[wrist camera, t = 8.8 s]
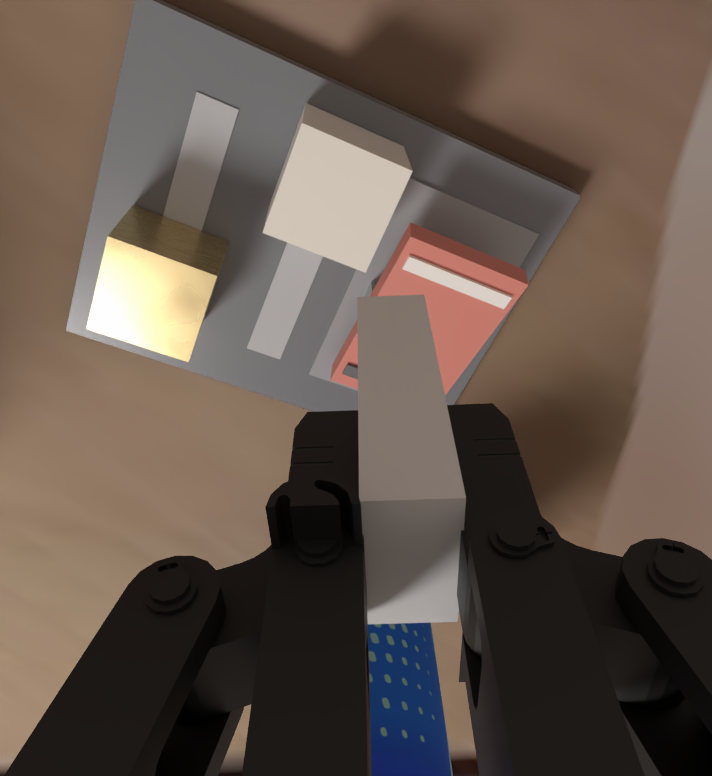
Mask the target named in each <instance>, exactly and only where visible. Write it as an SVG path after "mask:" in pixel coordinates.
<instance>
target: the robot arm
mask: <svg viewBox="0 0 712 776" xmlns="http://www.w3.org/2000/svg"><path fill="white" fill-rule="evenodd" d="M357 334H358V410H349V411H321V412H307V414H306V415H305V416H304V417H303V419H302V420H301V421H300V423H299V424H298V425H297V427H296V428H295V432H294V440H293V451H292V456H291V467H290V472H289V480H288V482H286V483H283V484H282V485H281V486H280V487H279V488H278V489H276V490H275V491H274V492H273V493H272V494H271V496H270V498H269V500H268V503H267V505H266V513H267V519H268V525H269V531H270V538H271V544H272V545H271V546H270V547H269V548H268V549H266V550H265V551H264V552H262V553H261V554H259V555H258V556H256V557H254V558H252V559H250V560H247V561H245V562H242V563H240V564H236V565H233V566H230V567H226V568H223V569H219V570H215V569H214V568H213V567H212V566H211V565H210V564H209V562H208V561H205V560H203V559H200V558H197V557H194V556H173V557H170V558H166V559H163V560H159V561H156V562H155V563H153V564H152V565H150V566H148V567H147V568H145V569H143V570H142V571H140V572H139V574H138V575H137V576H136V577H135V578H134V579H133V580H132V581H131V582H130V583H129V584H128V586H127V588H126V589H125V591H124V592H123V594H122V595H121V597H120V598H119V600H118V601H117V603H116V604H115V606H114V608H113V609H112V611H111V612H110V614H109V615H108V617H107V618H106V620H105V621H104V623H103V624H102V626H101V628H100V629H99V631H98V632H97V634H96V635H95V637H94V638H93V640H92V641H91V643H90V644H89V646H88V648H87V649H86V651H85V652H84V654H83V655H82V657H81V658H80V660H79V661H78V663H77V664H76V666H75V668H74V669H73V671H72V672H71V674H70V675H69V677H68V678H67V680H66V681H65V683H64V684H63V686H62V688H61V689H60V691H59V692H58V694H57V695H56V697H55V698H54V700H53V701H52V703H51V704H50V706H49V708H48V709H47V711H46V712H45V714H44V715H43V717H42V718H41V720H40V721H39V723H38V724H37V726H36V728H35V729H34V731H33V732H32V734H31V735H30V737H29V738H28V740H27V741H26V743H25V744H24V746H23V747H22V749H21V751H20V752H19V754H18V755H17V757H16V758H15V760H14V761H13V763H12V764H11V766H10V767H9V769H8V771H7V772H6V774H5V775H4V776H218V773H219V771H220V768H221V766H222V763H223V761H224V758H225V755H226V753H227V750H228V748H229V745H230V743H231V740H232V738H233V735H234V733H235V730H236V728H237V725H238V722H239V720H240V717H241V715H242V712H243V709H244V706H247V705H250V704H252V705H251V712H250V720H249V727H248V735H247V742H246V750H245V757H244V765H243V772H242V776H372V763H371V722H370V681H369V649H368V624H398V623H432V622H458V610H459V611H460V618H461V624H462V630H463V635H462V648H461V661H460V675H459V682H466V689H467V695H468V702H469V709H470V715H471V722H472V729H473V735H474V742H475V749H476V755H477V762H478V769H479V775H480V776H712V560H711V559H710V558H709V557H708V556H706V555H705V554H704V553H703V552H701V551H699V550H697V549H695V548H693V547H691V546H689V545H686V544H685V543H682V542H677V541H673V540H668V539H662V538H661V539H645V540H642V541H640V542H638V543H636V544H633V545H631V546H630V547H629V549H628V550H627V552H626V553H625V554H624V556H623V557H620V556H615V555H611V554H606V553H602V552H597V551H593V550H589V549H586V548H582V547H579V546H576V545H574V544H572V543H570V542H568V541H566V540H564V539H562V538H561V537H560V536H559V534H558V532H557V531H556V529H555V528H554V526H553V525H551V524H550V523H549V522H547V521H546V520H545V519H544V518H542V516H541V514H540V512H539V509H538V506H537V503H536V500H535V497H534V494H533V491H532V488H531V485H530V482H529V479H528V476H527V473H526V470H525V467H524V464H523V461H522V458H521V457H520V452H519V449H518V446H517V443H516V441H515V437H514V434H513V431H512V428H511V425H510V422H509V419H508V418H507V417H506V416H505V415H504V414H503V413H502V412H501V411H500V410H499V409H498V408H497V407H495V406H494V405H493V404H465V405H447V403H446V398H445V393H444V388H443V383H442V379H441V374H440V369H439V364H438V359H437V354H436V349H435V345H434V340H433V335H432V330H431V325H430V320H429V315H428V311H427V306H426V301H425V296H424V295H399V296H374V297H357Z"/></svg>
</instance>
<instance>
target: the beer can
mask: <svg viewBox="0 0 712 776" xmlns="http://www.w3.org/2000/svg"><path fill="white" fill-rule="evenodd" d="M368 649H369V681H370V722H371V763H372V776H453V773H452V766H451V760H450V753H449V746H448V739H447V732H446V725H445V718H444V711H443V704H442V697H441V690H440V683H439V677H438V670H437V663H436V656H435V649H434V642H433V635H432V628H431V623H398V624H368Z"/></svg>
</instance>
